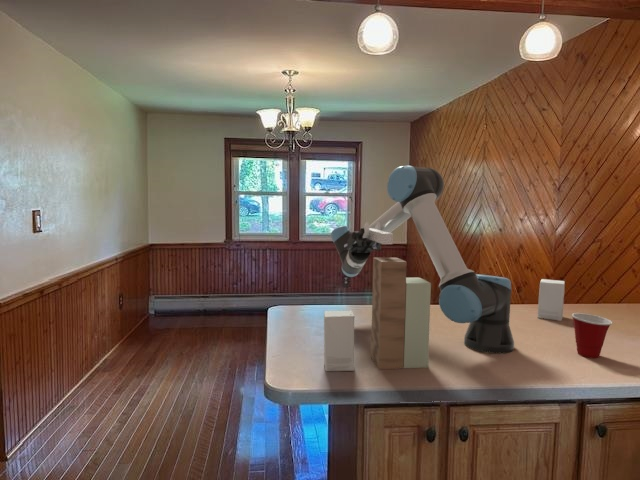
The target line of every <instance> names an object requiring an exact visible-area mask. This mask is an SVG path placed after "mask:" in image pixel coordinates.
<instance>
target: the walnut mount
mask: <svg viewBox="0 0 640 480" xmlns="http://www.w3.org/2000/svg"><path fill="white" fill-rule="evenodd" d="M372 259H373V261H372V264H373V265H372V267H373V268H372V297H371V298H372V300H371V301H372V303H371V304H372V305H371V306H372V307H371V336H370V337H371V340H370V341H371V342H370V343H371V344H370V347H371V348H370V358H371V361H372V362H373V363H374V364H375V366H376V367H377V369H378V370H390V369H391V370H392V369H404V368H403V360H404V329H405V298H406V278H407V266H408V263H407V261H406V260H404V259H402V258H398V257H373V258H372Z"/></svg>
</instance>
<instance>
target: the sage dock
mask: <svg viewBox="0 0 640 480" xmlns="http://www.w3.org/2000/svg"><path fill="white" fill-rule="evenodd" d="M431 288H432V283H431V282H429V281H427V280H426V279H424V278H421V277H406V298H405V329H404V360H403V368H402V369H415V368H417V369H418V368H422V369H423V368H429V350H430V349H429V347H430V346H429V345H430V320H431V319H430V318H431V317H430V316H431V290H432V289H431Z"/></svg>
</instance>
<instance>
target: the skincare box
mask: <svg viewBox="0 0 640 480" xmlns="http://www.w3.org/2000/svg"><path fill="white" fill-rule="evenodd" d="M323 334H324V335H323V342H324V343H323V347H324V348H323V350H324V351H323V355H324V357H323V358H324V362H323V363H324V371H325V372H348V371H349V372H354V371H355V314H354V312H353V310H324V311H323Z"/></svg>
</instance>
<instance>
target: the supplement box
mask: <svg viewBox="0 0 640 480" xmlns="http://www.w3.org/2000/svg"><path fill="white" fill-rule="evenodd" d="M565 283H566V282H565V280H556V279H548V278H547V279H546V278H541V280H540V282H539V288H538V289H539V291H538V292H539V293H538V306H537V319H543V318H544V319H545V320H553V321H558V322H562V321H563V314H564V304H565V289H566V288H565V286H566V284H565ZM544 319H543V320H544Z"/></svg>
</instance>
